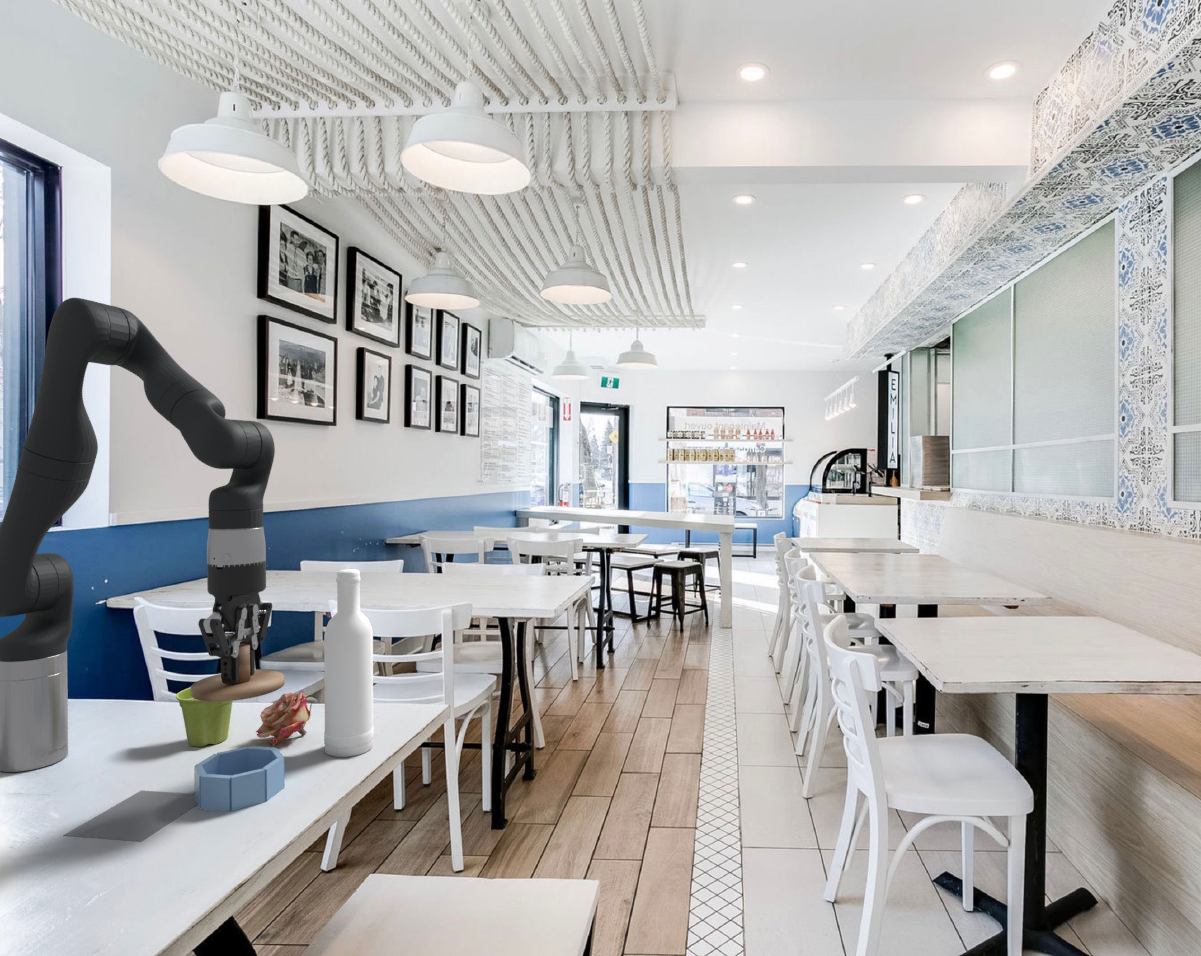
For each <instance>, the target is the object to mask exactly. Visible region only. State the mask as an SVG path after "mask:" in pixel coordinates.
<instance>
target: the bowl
mask: <svg viewBox="0 0 1201 956" xmlns="http://www.w3.org/2000/svg"><path fill="white" fill-rule="evenodd" d="M193 767H194V771H193V772H194V773H193V775H194V794H195V799H196V801H197V803H198V808H199V809H200V810H206V811H207V810H209V811H211V810H212V811H223V812H224V811H225V812H230V811H236V810H241V809H245V808H248V807H252V806H256V805H260V804H264V803H266V802H268V801H269V800H271V799H272V798H274V796H276V795H277V794H279V793H281V792H282V790H284V789H285V785H286V784H285V756H284V755H283V753H282V752H281V751H280V750H279V748H278V747H277V748H276V747H271V746H254V745H253V746H251V745H250V746H244V747H239V748H234V749H233V748H232V749H229V750H224V751H221V752H216V753H213V754H212V755H210V756H209V757H206V758H205V759H203V760H201V761H200V762H198V763H196V764H195V765H194V766H193Z"/></svg>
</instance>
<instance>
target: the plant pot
mask: <svg viewBox="0 0 1201 956" xmlns="http://www.w3.org/2000/svg"><path fill="white" fill-rule="evenodd" d="M175 699H176V700H177V701H178V703H179V706H180V708H181V711H182V717H183V723H184V728H185V734H186V739H187V744H188V745H189V746H192V747H197V748H202V747H205V746H207V745H211V744H212V745H217V744H220V743H222V742H225V740H227V739H228V737H229V730H230V724H231V715H232V709H233V701H220V702H212V701H201V700H197V699H194V698H192V696H191V687H188V688H185V689H183V690H181V691H179V692H177V693H176V695H175Z"/></svg>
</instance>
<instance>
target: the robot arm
mask: <svg viewBox="0 0 1201 956" xmlns="http://www.w3.org/2000/svg"><path fill="white" fill-rule="evenodd" d="M47 334H48V335H47V338H46V339H47V340H46V344H45V352H44V359H43V365H42V366H43V367H42V373H41V379H40V384H39V389H38V394H37V398H36V402H35V405H34V410H33V414H32V417H31V418H32V419H31V421H30V425H29V427H28V431H27V434H26V438H25V440H24V443H23V447H22V451H21V455H20V457H19V462H18V465H17V468H16V474H15V477H14V478H15V479H14V482H13V486H12V490H11V492H10V493H11V494H10V497H9V500H8V503H7V505H6V509H5V513H4V516H3V519H2V522H1V524H0V618H5V617H14V616H15V617H16V616H20V615H25V616H24V619H23V620H22V622H20V623H19V624H18V626H17V627H16V628H15V629H13V630H11V631H10V632H9V633H7V634H5V635H3V636H2V637H0V772H6V773H11V772H12V773H15V772H25V771H31V770H36V769H39V768H43V767H44V768H45V767H47V766H50V765H54V764H56V763H58V762H60V761H63V760H64V759H65V758H66V757H68V755H69V721H68V720H69V717H68V716H69V714H68V713H69V712H68V711H69V707H68V705H69V704H68V701H69V700H68V697H69V696H68V693H69V692H68V691H69V689H68V640H69V638H70V635H71V632H72V627H73V612H74V611H73V609H74V593H75V591H74V590H75V586H74V584H75V582H74V576H73V570H72V567H71V565H70V563H69V562H68V561H67V559H66V558H64V557H63V556H62V555H61V554H57V553H55V552H54V553H52V552H47V553H38V551H39V548H40V545H41V543H42V541H43V540H44V537H45V536H46V534H47V533H48V532H49V530H50V529H52V527H53V526H54V525H55V524H56V523H57V522H58V521H59V520H60V518H62V517H63V516H64V515H65V514H66V513H67V512H68V511H69V510H70V509H71V507H73V505H74V504H75V503H76V502H77V501H78V500H79V499H80V498H81V496H83V494H84V492H86V489H87V488H88V486H89V483H90V480H91V477H92V473H93V470H94V466H95V464H96V460H97V456H98V451H99V450H98V449H99V446H98V439H97V436H96V432H95V430H94V427H93V425H92V421H91V420H90V416H89V414H88V412H87V409H86V406H85V404H84V403H85V402H84V397H83V388H84V381H85V377H86V376H85V375H86V371H87V369H88V364H89V363H92V364H93V363H94V364H97V365H98V364H99V365H105V366H117V367H120V368H122V369H125V370H127V371H128V372H130V373H132V374H134V375H135V376H137V377H138V378H140V379H141V381H142V382H143V389H144V394H145V397H146V399H147V400H148V402H149V404H150V405H151V407H152V408H153V409H154V411H156V412H157V413H158V414H159V415H160V416H161V417H163V418H164V419H165V420H166V421H167V422H169V423H170V424H171V425H172V426H173V427H175V428H176V429H177V430H178V431H179V432H180V434H181V436H182V438H183V439H184V441H185V443H186V444H187V446H188V448H189V449H190V451H191V452H192V454H193V455H194V457H195V458H196V459H197V460H198V461H199V462H201V463H203V464H204V465H206V466H209V467H210V468H213V469H218V470H232V472H231V476H230V478H229V482H227V484H225V485H221V486H219V487H216V488H214V489H212V490H211V492H210V493H209V497H208V536H207V541H206V543H207V545H206V564H207V565H206V567H207V568H206V569H207V572H206V575H207V577H206V579H207V593H208V594H209V595H211V596H213V598H214V603H213V607H212V613H211V614H210V616H208V617H207V618H200V619H199V620H198V628H199V630H200V633H201V634H200V635H201V636H202V639H203V642H204V645H205V648H206V650H207V653H208V655H209V656H210V657H218V658H219V660H220V674H221V679H222V683H224V684H235V683H237V682H238V681H239V657H237V656H238V651H239V644H249V645H250V676H253V675H254V673H255V670H256V669H255V668H256V654H255V652H256V651H255V650H257V648H258V646H259V644H260V643H264V641H265V639H266V636H267V630H268V627H269V623H270V617H271V613H272V610H273V604H272V602H264V601H261V596H260V593H261V592H264V591H265V590H266V588H267V554H266V551H267V549H266V548H267V547H266V537H265V529H264V497H265V493H266V491H267V486H268V483H269V479H270V475H271V471H272V467H273V464H274V458H275V453H276V450H275V442H274V438H273V435H272V433H271V431H270V430H269V428H268V427H267V425H265V424H263V423H261V422H259V421H254V420H245V419H244V420H242V419H228V418H226V407H225V405H224V403H223V402H222V401H221V400H220V399H219V398H218V396H216V395H215V394H214V393H213V392H212V391H210V390H209V389H208V388H206V387H205V386H204V385H203V384H201V383H200V382H199V381H198V380H197V379H196V378H194V377H193V376H192V375H190V374H189V373H188V372H187V371H186V370H185V369H183V367H181V366H180V365H179V364H178V362H176V360H175V359H174V358H173V357H172V355H170V353H168V351H167V350H166V349H165V348H164V347H163V345H162V344H161V343H160V342H159V341H158V340H157V338H155V336H154V335H153V333H152V332H151V331H150V330H149V328H148V327H147V326H146V325H145V324H144V323H143V321H141V320H140V319H139V317H138V316H136V315H135V314H134V313H132V312H131V311H130V310H127V309H125V308H122V307H119V306H115V305H110V304H106V303H102V302H98V301H94V300H90V299H85V298H80V297H70V298H67V299H65V300H64V301H62V302H61V303H60V304H59V305H58V306H57V308H56V309H55V311H54V314H53V316H52V318H51V321H50V326H49V329H48V333H47ZM37 553H38V554H37ZM228 633H230V634H228ZM231 633H232V634H231ZM228 641H230V645H229V642H228ZM229 646H231V648H229Z"/></svg>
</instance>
